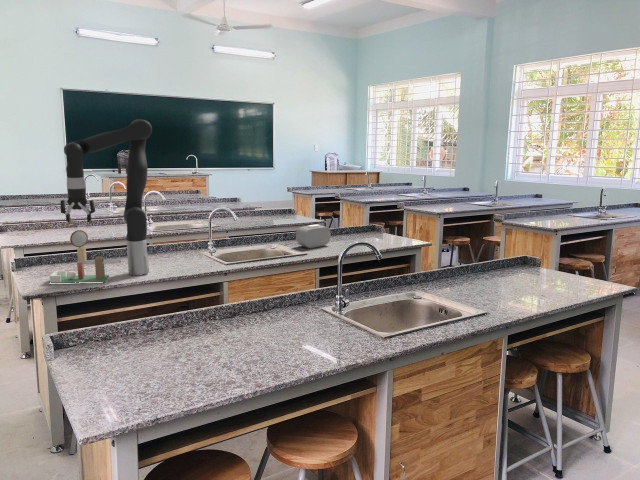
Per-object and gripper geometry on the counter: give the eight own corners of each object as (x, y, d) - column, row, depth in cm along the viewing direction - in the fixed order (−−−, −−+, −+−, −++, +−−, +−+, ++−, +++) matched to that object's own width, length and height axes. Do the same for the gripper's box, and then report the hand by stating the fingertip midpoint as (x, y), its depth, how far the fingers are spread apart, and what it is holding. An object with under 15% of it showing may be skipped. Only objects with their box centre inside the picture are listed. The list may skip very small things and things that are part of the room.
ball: (77, 277, 244) (76, 269, 243) (74, 280, 240) (74, 271, 239) (68, 277, 243) (67, 269, 242) (65, 280, 239) (64, 272, 239)
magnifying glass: (73, 270, 259) (70, 231, 255) (72, 269, 260) (68, 231, 256) (90, 267, 265) (87, 229, 261) (89, 266, 267) (86, 228, 262)
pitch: (109, 276, 250) (107, 254, 247) (103, 283, 239) (101, 260, 237) (56, 278, 246) (54, 255, 243) (48, 285, 235) (46, 261, 233)
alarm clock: (320, 242, 331) (321, 222, 328) (330, 245, 324) (330, 224, 321) (295, 246, 318) (295, 225, 315) (304, 249, 311) (305, 228, 308)
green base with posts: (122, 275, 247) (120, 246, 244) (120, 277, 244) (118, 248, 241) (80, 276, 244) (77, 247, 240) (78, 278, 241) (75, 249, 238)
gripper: (94, 186, 238) (97, 220, 242) (62, 186, 236) (65, 220, 239) (90, 188, 231) (93, 223, 234) (56, 188, 229) (59, 223, 232)
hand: (79, 222), depth 237 cm, fingers open, 8 cm apart
